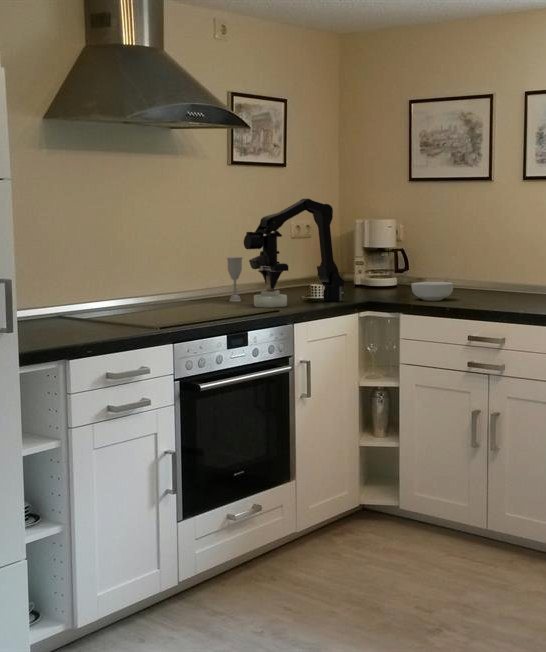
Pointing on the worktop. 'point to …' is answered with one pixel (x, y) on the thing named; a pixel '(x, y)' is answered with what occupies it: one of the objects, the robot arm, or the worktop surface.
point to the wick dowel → (268, 283)
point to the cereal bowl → (432, 290)
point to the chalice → (234, 273)
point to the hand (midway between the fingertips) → (270, 288)
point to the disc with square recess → (270, 299)
